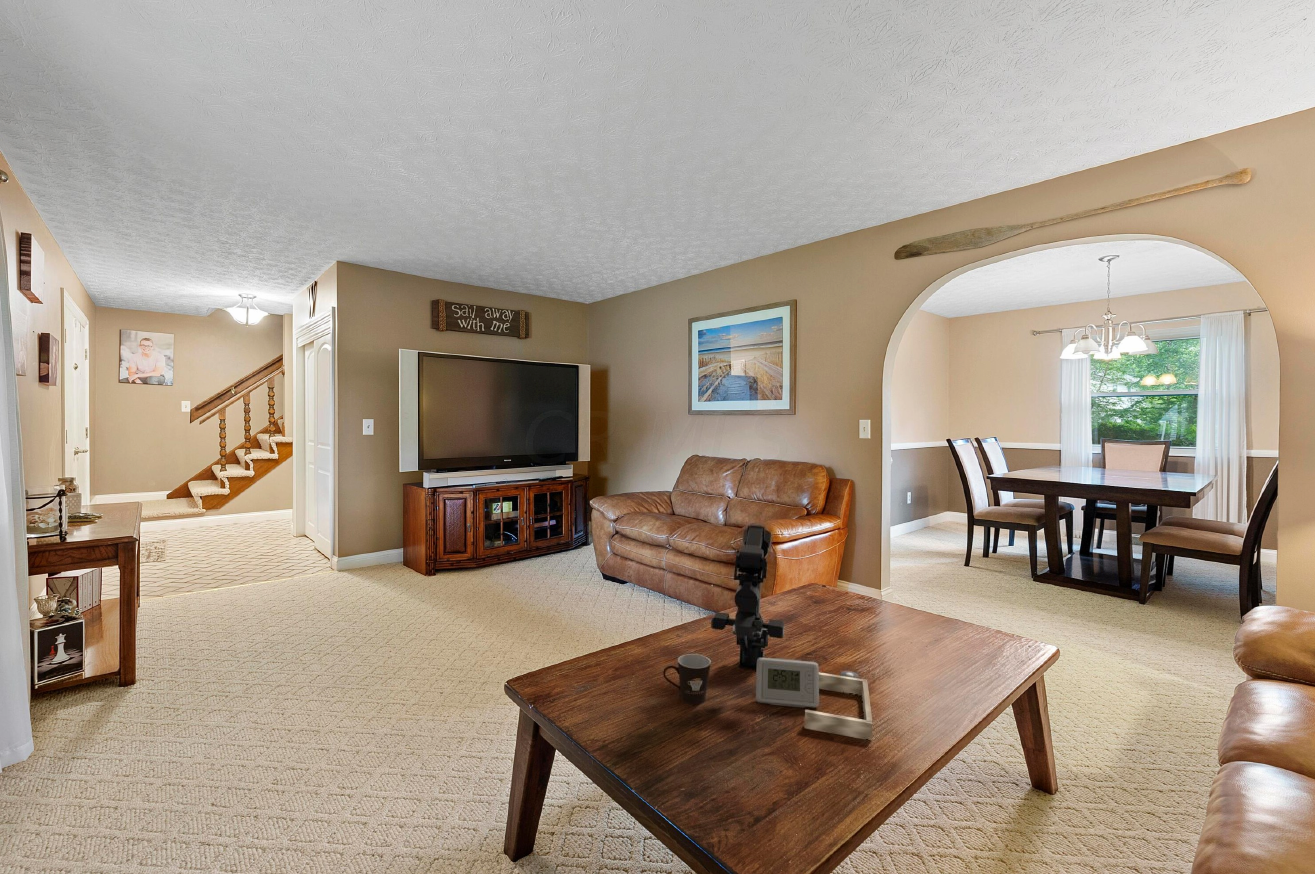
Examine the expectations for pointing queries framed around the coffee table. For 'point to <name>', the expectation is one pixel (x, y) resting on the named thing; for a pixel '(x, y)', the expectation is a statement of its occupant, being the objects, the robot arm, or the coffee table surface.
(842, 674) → the wheel
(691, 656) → the coffee mug
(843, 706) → the coffee table surface
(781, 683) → the digital clock
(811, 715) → the bay
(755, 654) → the robot arm
